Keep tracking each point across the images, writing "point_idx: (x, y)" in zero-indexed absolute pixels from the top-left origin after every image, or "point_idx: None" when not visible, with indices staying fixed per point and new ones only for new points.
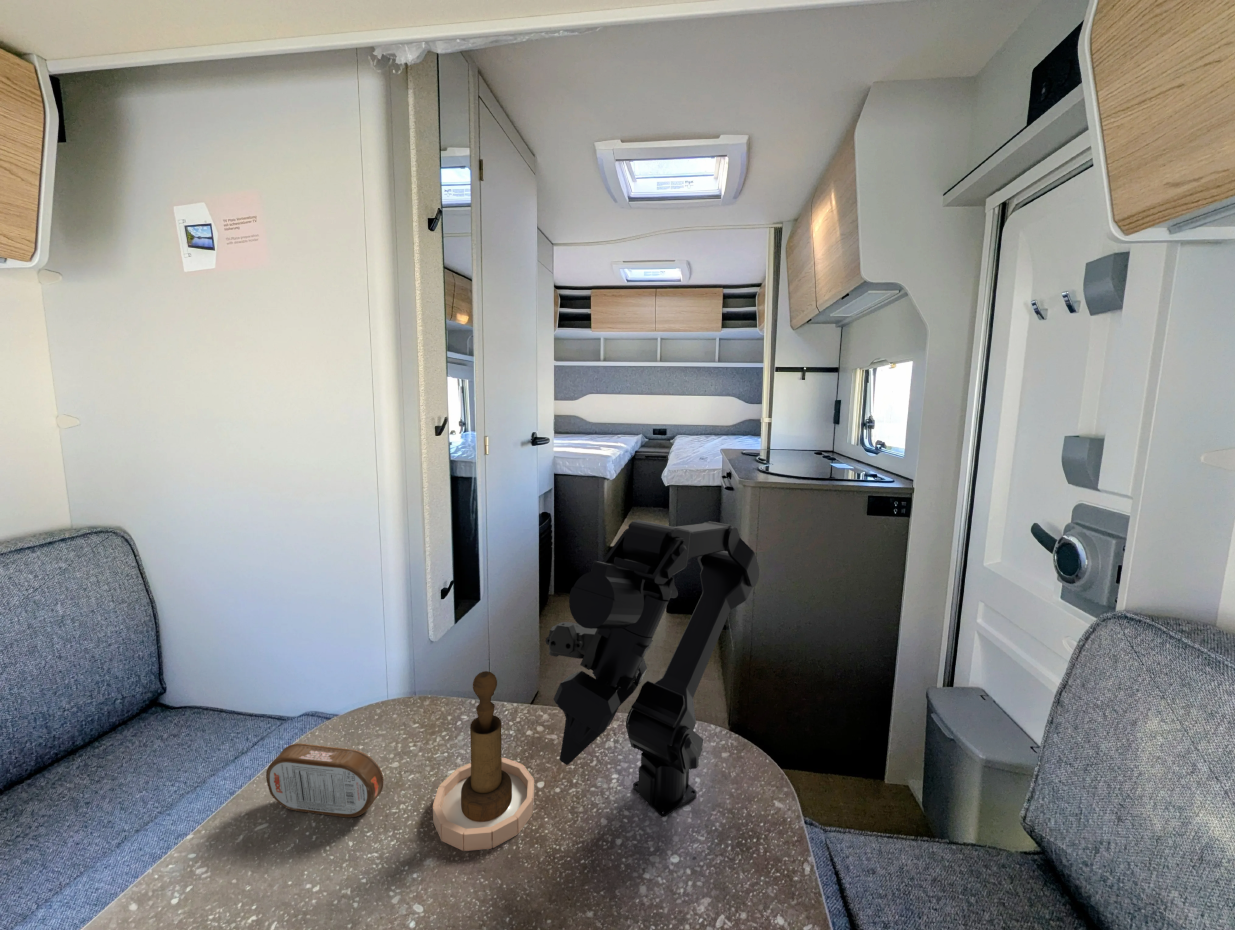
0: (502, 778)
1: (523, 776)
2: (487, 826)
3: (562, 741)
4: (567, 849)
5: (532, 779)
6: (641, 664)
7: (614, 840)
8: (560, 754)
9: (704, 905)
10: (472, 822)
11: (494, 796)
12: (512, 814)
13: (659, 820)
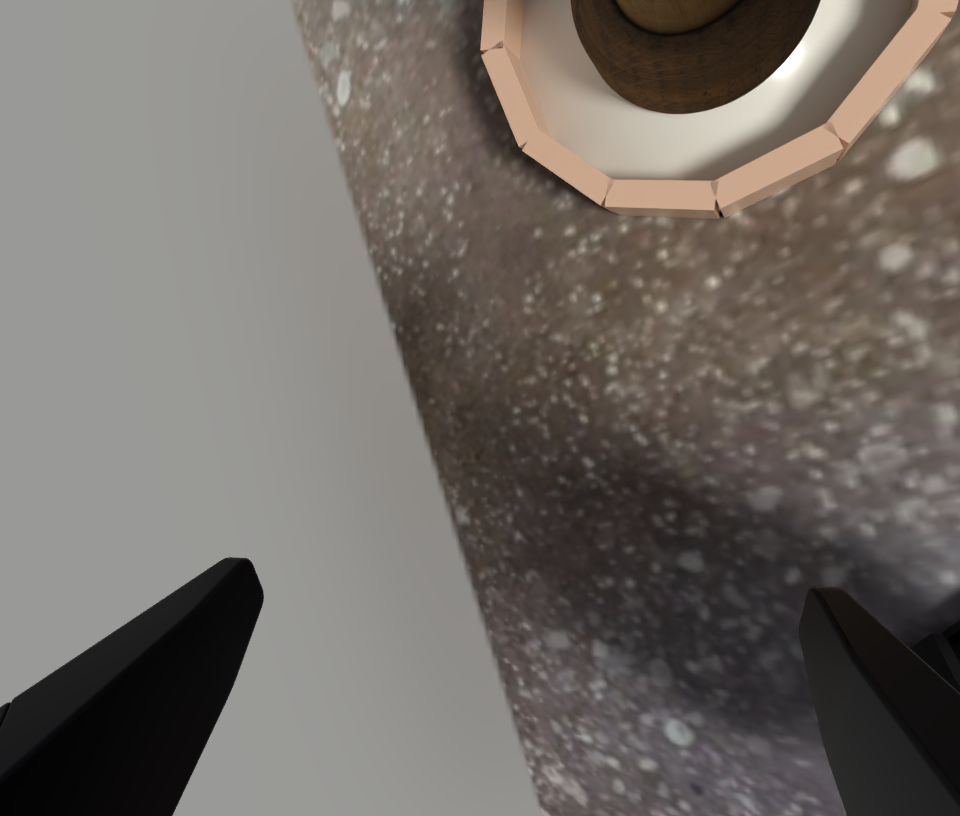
0: (733, 11)
1: (864, 75)
2: (586, 94)
3: (94, 645)
4: (612, 404)
5: (844, 139)
6: None
7: (690, 547)
8: (193, 579)
9: (563, 785)
10: None
11: (623, 54)
12: (667, 151)
13: None
